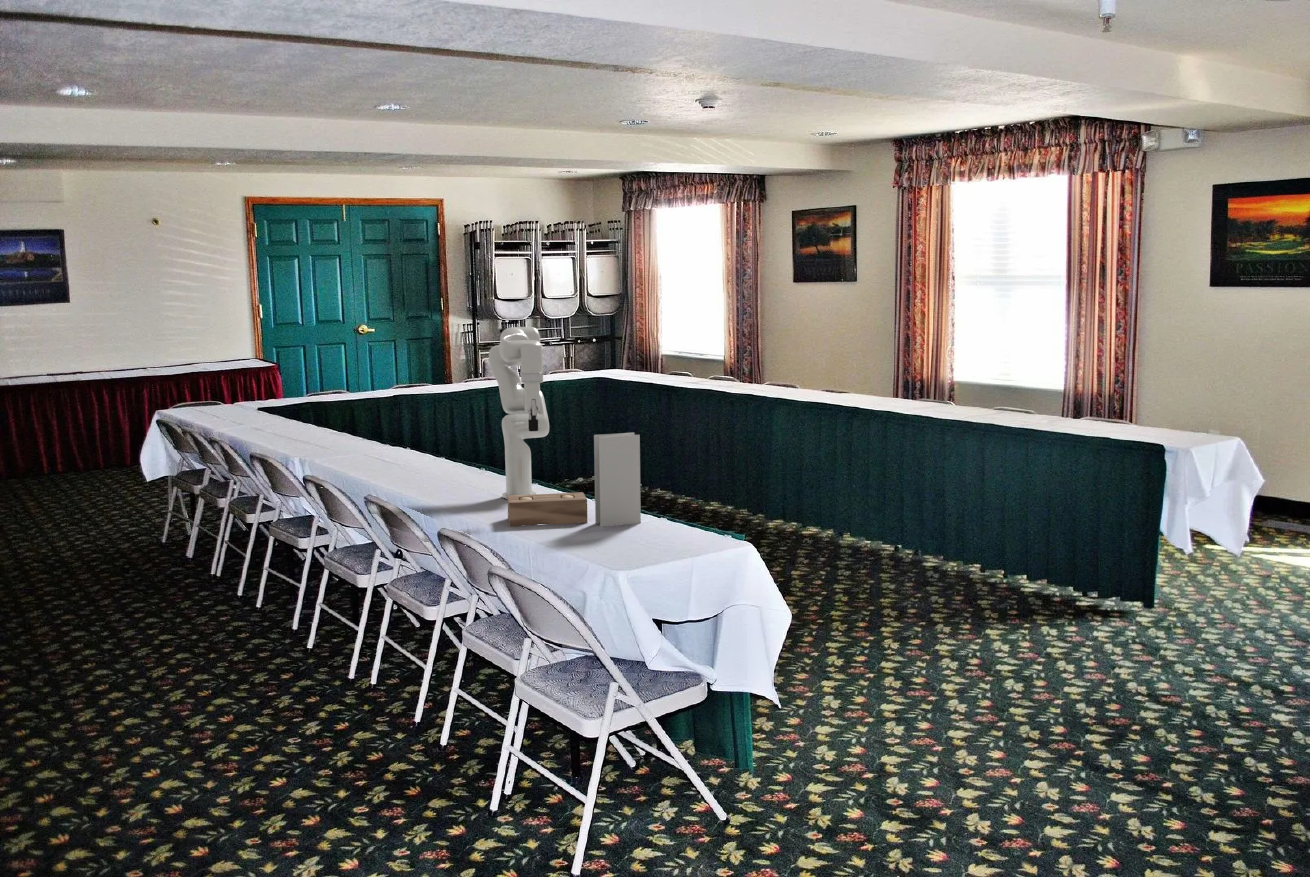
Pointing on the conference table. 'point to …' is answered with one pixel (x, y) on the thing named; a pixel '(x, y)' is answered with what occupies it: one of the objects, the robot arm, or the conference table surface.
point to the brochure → (617, 479)
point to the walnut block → (547, 509)
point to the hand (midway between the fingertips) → (533, 430)
